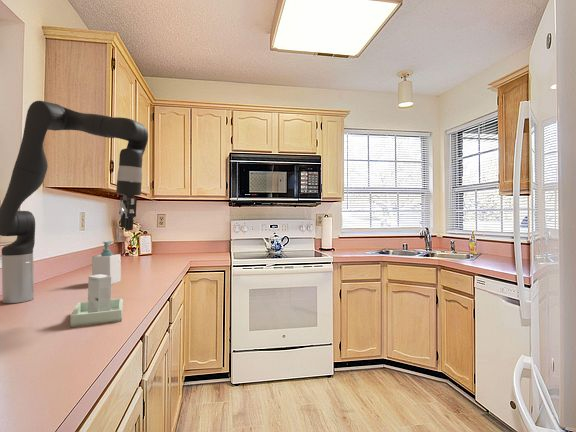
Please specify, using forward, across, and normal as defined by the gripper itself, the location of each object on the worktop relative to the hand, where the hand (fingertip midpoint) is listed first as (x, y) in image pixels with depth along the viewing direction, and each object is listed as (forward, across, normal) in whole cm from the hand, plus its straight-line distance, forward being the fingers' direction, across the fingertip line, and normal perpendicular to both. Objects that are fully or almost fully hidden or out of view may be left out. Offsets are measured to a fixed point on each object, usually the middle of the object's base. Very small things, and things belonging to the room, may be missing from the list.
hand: (126, 229), depth 117 cm
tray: (+27, +6, -7) cm, 29 cm away
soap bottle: (+30, -51, +3) cm, 59 cm away
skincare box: (+27, +6, -7) cm, 28 cm away
